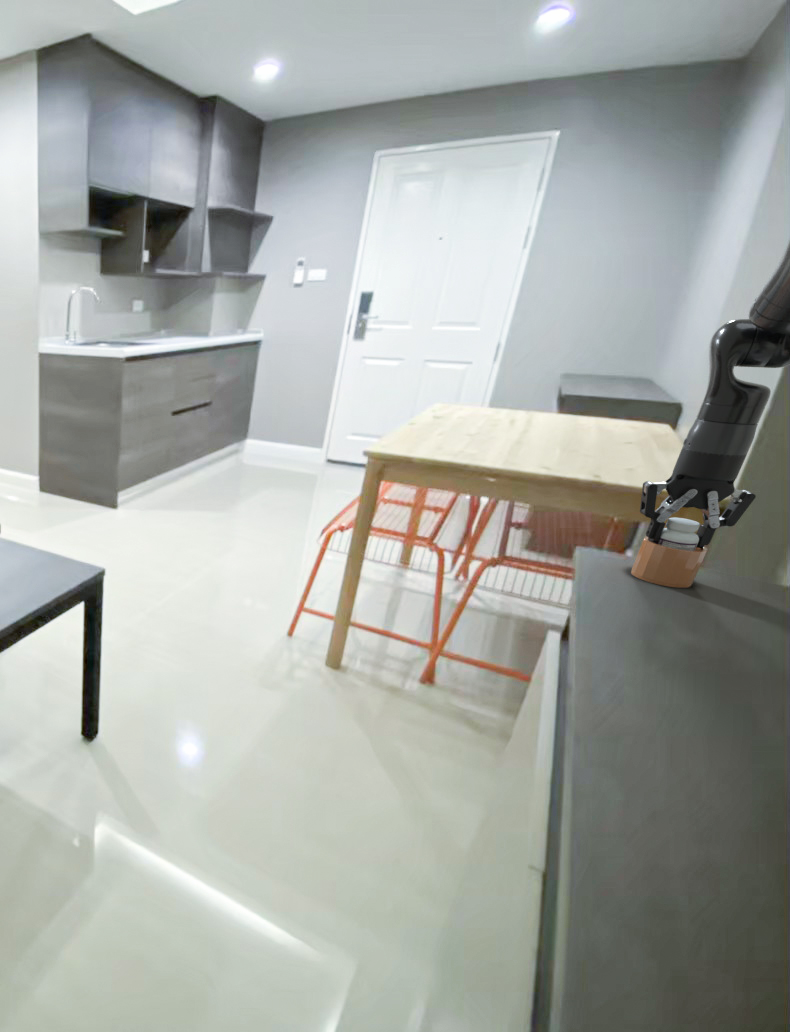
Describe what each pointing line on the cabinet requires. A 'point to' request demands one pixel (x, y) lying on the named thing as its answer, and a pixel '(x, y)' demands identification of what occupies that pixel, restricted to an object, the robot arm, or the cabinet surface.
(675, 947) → the cabinet surface
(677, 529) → the pill bottle
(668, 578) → the holder
